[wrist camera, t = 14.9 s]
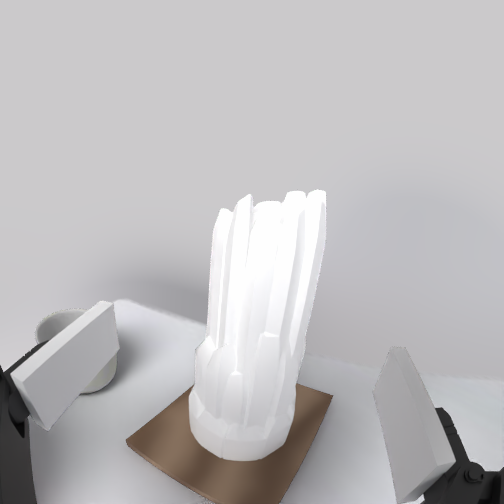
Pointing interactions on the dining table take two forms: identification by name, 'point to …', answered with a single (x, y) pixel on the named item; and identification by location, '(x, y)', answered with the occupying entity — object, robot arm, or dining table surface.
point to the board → (228, 471)
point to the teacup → (58, 323)
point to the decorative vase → (256, 323)
